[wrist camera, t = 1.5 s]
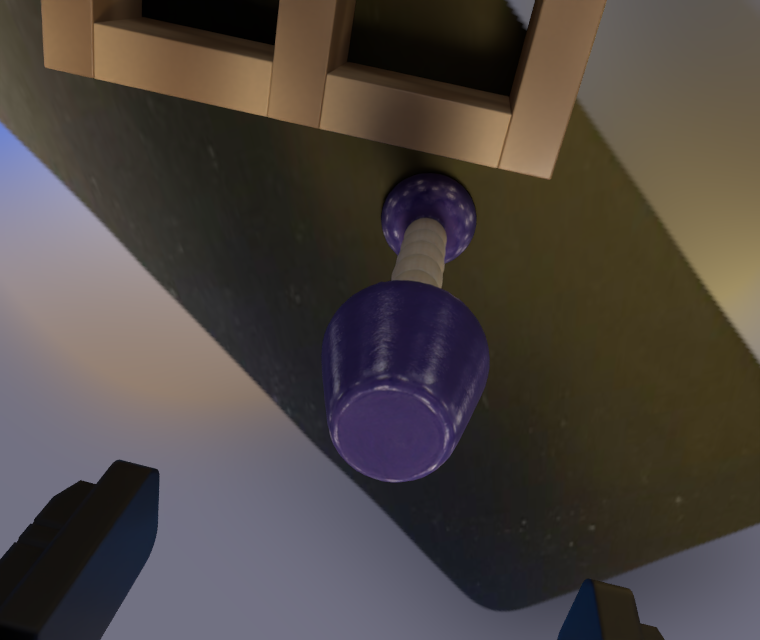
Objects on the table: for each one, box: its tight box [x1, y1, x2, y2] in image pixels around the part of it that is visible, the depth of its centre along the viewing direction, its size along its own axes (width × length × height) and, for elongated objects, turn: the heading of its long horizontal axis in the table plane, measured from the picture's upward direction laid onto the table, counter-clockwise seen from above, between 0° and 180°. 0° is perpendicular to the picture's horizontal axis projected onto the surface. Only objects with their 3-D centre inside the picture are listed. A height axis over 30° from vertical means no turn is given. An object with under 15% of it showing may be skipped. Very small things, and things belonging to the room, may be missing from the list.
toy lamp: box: [322, 173, 489, 482], centre depth 23 cm, size 5×5×17 cm
